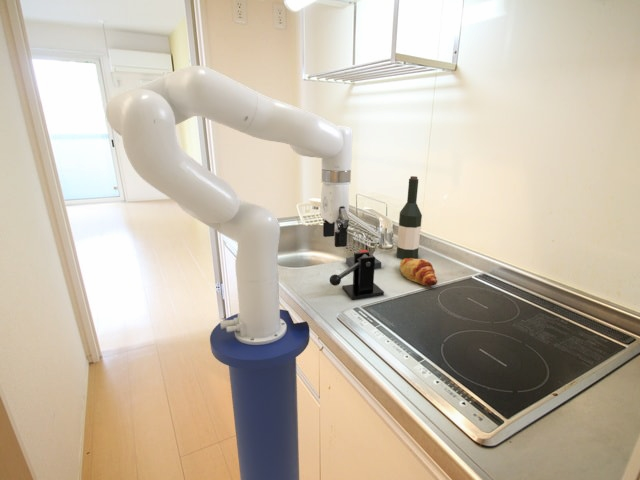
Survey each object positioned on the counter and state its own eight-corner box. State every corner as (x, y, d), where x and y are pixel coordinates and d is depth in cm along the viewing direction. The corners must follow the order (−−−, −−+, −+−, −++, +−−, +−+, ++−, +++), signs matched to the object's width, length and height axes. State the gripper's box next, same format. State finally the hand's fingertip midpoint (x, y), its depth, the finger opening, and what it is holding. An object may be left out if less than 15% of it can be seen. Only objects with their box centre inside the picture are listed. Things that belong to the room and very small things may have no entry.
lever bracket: (352, 300, 102) (353, 261, 98) (342, 289, 109) (343, 252, 105) (383, 295, 105) (386, 257, 101) (372, 285, 112) (374, 248, 108)
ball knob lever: (334, 289, 101) (329, 281, 100) (331, 285, 104) (326, 276, 103) (372, 264, 103) (368, 255, 102) (368, 260, 106) (363, 252, 104)
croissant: (394, 275, 129) (385, 258, 125) (417, 260, 130) (409, 242, 126) (426, 300, 110) (417, 280, 106) (452, 282, 111) (445, 262, 108)
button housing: (354, 271, 122) (354, 260, 121) (346, 263, 129) (346, 253, 128) (381, 268, 126) (381, 257, 125) (371, 260, 133) (371, 250, 132)
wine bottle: (420, 255, 140) (428, 176, 130) (414, 261, 133) (422, 178, 123) (399, 251, 143) (405, 174, 133) (393, 258, 136) (399, 177, 126)
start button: (361, 258, 124) (361, 253, 124) (356, 255, 127) (357, 250, 127) (370, 257, 125) (370, 252, 125) (366, 254, 129) (366, 249, 128)
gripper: (312, 173, 99) (312, 233, 104) (333, 181, 84) (331, 252, 89) (338, 173, 101) (336, 232, 107) (363, 181, 86) (359, 249, 92)
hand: (334, 241), depth 98 cm, fingers open, 9 cm apart
